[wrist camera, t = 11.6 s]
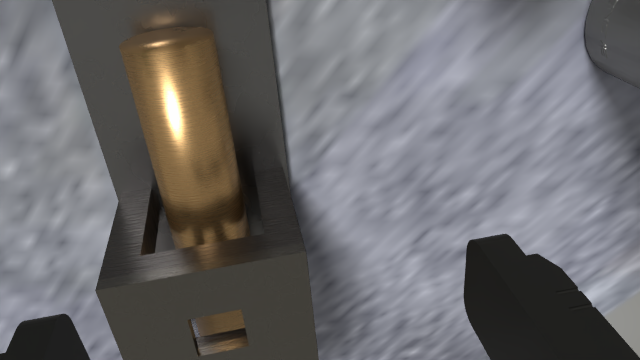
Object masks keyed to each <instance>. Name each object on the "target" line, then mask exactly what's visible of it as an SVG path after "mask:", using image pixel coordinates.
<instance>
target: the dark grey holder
mask: <svg viewBox="0 0 640 360" xmlns="http://www.w3.org/2000/svg"><path fill="white" fill-rule="evenodd" d="M52 2H53V5H54V8H55V11H56V14H57V17H58V20H59V23H60V26H61V29H62V32H63V35H64V38H65V41H66V44H67V47H68V50H69V53H70V56H71V59H72V62H73V65H74V68H75V71H76V74H77V77H78V80H79V83H80V86H81V89H82V92H83V95H84V98H85V101H86V104H87V107H88V110H89V113H90V116H91V119H92V122H93V125H94V128H95V131H96V134H97V137H98V140H99V143H100V146H101V149H102V152H103V155H104V158H105V161H106V164H107V167H108V170H109V173H110V176H111V179H112V182H113V185H114V188H115V191H116V194H117V197H118V200H119V202H118V206H117V210H116V214H115V218H114V221H113V225H112V229H111V233H110V237H109V241H108V244H107V248H106V252H105V256H104V260H103V264H102V267H101V271H100V275H99V279H98V283H97V287H96V290H95V291H96V293H97V296H98V298H99V301H100V303H101V306H102V308H103V311H104V313H105V316H106V318H107V321H108V323H109V325H110V328H111V330H112V333H113V335H114V338H115V340H116V343H117V345H118V348H119V350H120V353H121V355H122V358H123V360H319V359H318V350H317V341H316V333H315V324H314V316H313V307H312V298H311V290H310V281H309V273H308V264H307V256H306V250H305V246H304V242H303V239H302V235H301V232H300V228H299V224H298V221H297V217H296V213H295V210H294V206H293V202H292V199H291V194H290V186H289V178H288V170H287V162H286V154H285V146H284V138H283V131H282V123H281V115H280V107H279V99H278V91H277V83H276V75H275V67H274V60H273V52H272V44H271V36H270V28H269V20H268V12H267V4H266V0H52ZM173 27H203V28H208V29H210V30H212V31H213V34H214V39H215V45H216V50H217V56H218V61H219V66H220V72H221V77H222V83H223V88H224V94H225V99H226V105H227V110H228V116H229V121H230V127H231V132H232V137H233V143H234V148H235V154H236V159H237V165H238V170H239V176H240V181H241V187H242V192H243V198H244V203H245V208H246V214H247V219H248V225H249V230H250V236H248V237H243V238H237V239H232V240H226V241H220V242H215V243H209V244H203V245H198V246H192V247H187V248H181V249H176V248H175V245H174V241H173V238H172V234H171V231H170V227H169V223H168V220H167V216H166V213H165V209H164V205H163V202H162V198H161V195H160V191H159V188H158V184H157V180H156V177H155V173H154V170H153V166H152V163H151V159H150V155H149V152H148V148H147V145H146V141H145V138H144V134H143V130H142V127H141V123H140V120H139V116H138V113H137V109H136V105H135V102H134V98H133V95H132V91H131V87H130V84H129V80H128V77H127V73H126V70H125V66H124V62H123V59H122V55H121V52H120V48H119V46H120V44H121V43H122V42H123V41H125V40H127V39H128V38H131V37H133V36H136V35H139V34H142V33H146V32H150V31H154V30H159V29H165V28H173ZM240 309H241V310H242V315H243V320H244V324H245V328H242V329H237V330H232V331H227V332H222V333H217V334H212V335H207V336H202V337H197V338H196V337H195V334H194V330H193V327H192V323H191V320H190V319H194V318H199V317H205V316H210V315H215V314H220V313H225V312H230V311H235V310H240Z"/></svg>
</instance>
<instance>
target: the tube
mask: <svg viewBox="0 0 640 360" xmlns="http://www.w3.org/2000/svg"><path fill="white" fill-rule="evenodd" d="M119 48H120V52H121V55H122V59H123V62H124V66H125V70H126V73H127V77H128V80H129V84H130V87H131V91H132V95H133V98H134V102H135V105H136V109H137V113H138V116H139V120H140V123H141V127H142V130H143V134H144V138H145V141H146V145H147V148H148V152H149V155H150V159H151V163H152V166H153V170H154V173H155V177H156V180H157V184H158V188H159V191H160V195H161V198H162V202H163V205H164V209H165V213H166V216H167V220H168V223H169V227H170V231H171V234H172V238H173V241H174V245H175V248H176V249H181V248H187V247H192V246H198V245H203V244H209V243H215V242H220V241H226V240H232V239H237V238H243V237H248V236H250V230H249V225H248V219H247V214H246V208H245V203H244V198H243V192H242V187H241V181H240V176H239V170H238V165H237V159H236V154H235V148H234V143H233V137H232V132H231V127H230V121H229V116H228V110H227V105H226V99H225V94H224V88H223V83H222V77H221V72H220V66H219V61H218V56H217V50H216V45H215V39H214V34H213V31H212V30H210V29H208V28H203V27H173V28H165V29H159V30H154V31H150V32H146V33H142V34H139V35H136V36H133V37H131V38H128V39H127V40H125V41H123V42H122V43H121V44H120V46H119ZM195 320H196V324H197V327H198V331H199V334H200V337H202V336H207V335H212V334H217V333H222V332H227V331H232V330H237V329H242V328H245V324H244V320H243V315H242V310H241V309H240V310H235V311H230V312H225V313H220V314H215V315H210V316H205V317H199V318H195Z"/></svg>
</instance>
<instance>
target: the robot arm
mask: <svg viewBox="0 0 640 360" xmlns="http://www.w3.org/2000/svg"><path fill="white" fill-rule="evenodd" d="M585 40H586V47H587V50H588V52H589V55H590V57H591V59H592V60H593V61H594V63H595V64H596V65H597V66H598V67H599V68H601V69H602V70H603V71H605V72H607V73H609V74H611V75H613V76H615V77H617V78H619V79H621V80H623V81H625V82H627V83H630V84H632V85H634V86H636V87H638V88H640V0H592V2H591V5H590V8H589V11H588V15H587V18H586V26H585ZM464 304H465V309H466V313H467V316H468V319H469V321H470V323H471V325H472V327H473V329H474V331H475V333H476V334H477V336H478V338H479V340H480V341H481V343H482V345H483V347H484V349H485V350H486V352H487V354H488V356H489V357H490V359H491V360H640V358H639V357H638V355H637V354H636V353H635V352H634V351H633V350H632V349H631V348H630V346H629V345H628V344H627V343H626V342H625V341H624V339H623V338H622V337H621V336H620V335H619V334H618V333H617V331H616V330H615V329H614V328H613V327H612V326H611V325H610V323H608V321H607V320H606V319H605V318H604V317H603V315H602V314H601V313H600V312H599V311H598V310H597V309H596V307H592V303H591V302H590V301H589V299H588V298H587V297H586V296H585V295H584V294H583V293H582V292H581V291H578V287H577V286H576V285H575V284H574V282H573V281H572V280H571V279H570V278H569V277H568V276H567V274H566V273H565V272H564V271H563V270H562V269H561V268H560V267H558V266H557V265H555V264H553V263H552V262H550V261H548V260H547V259H545V258H543V257H542V256H540V255H539V254H532V255H527V256H526V255H525V254H524V252H523V251H522V250H521V249H520V248H519V246H518V245H517V244H516V243H515V241H514V240H513V239H512V238H511V237H510V236H509V235H507V234H501V235H495V236H490V237H485V238H479V239H474V240H470V241H469V242H468V245H467V253H466V268H465V283H464ZM0 360H90V358H89V356H88V354H87V352H86V350H85V347H84V345H83V343H82V341H81V339H80V337H79V335H78V333H77V331H76V329H75V326H74V324H73V322H72V320H71V319H70V317H69V316H68V315H66V314H60V315H54V316H49V317H43V318H38V319H32V320H27V321H23V322H21V323H20V324H19V325H18V327H17V329H16V331H15V333H14V335H13V338H12V340H11V342H10V344H9V347H8V349H7V351H6V353H2V354H0Z"/></svg>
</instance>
